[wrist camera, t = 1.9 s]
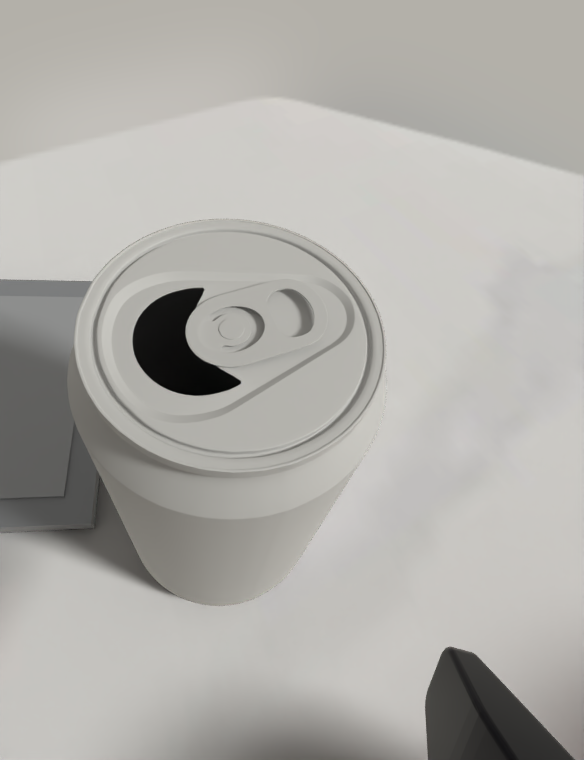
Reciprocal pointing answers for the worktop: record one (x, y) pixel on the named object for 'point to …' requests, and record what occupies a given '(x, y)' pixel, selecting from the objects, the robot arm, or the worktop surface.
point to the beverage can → (226, 398)
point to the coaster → (41, 411)
